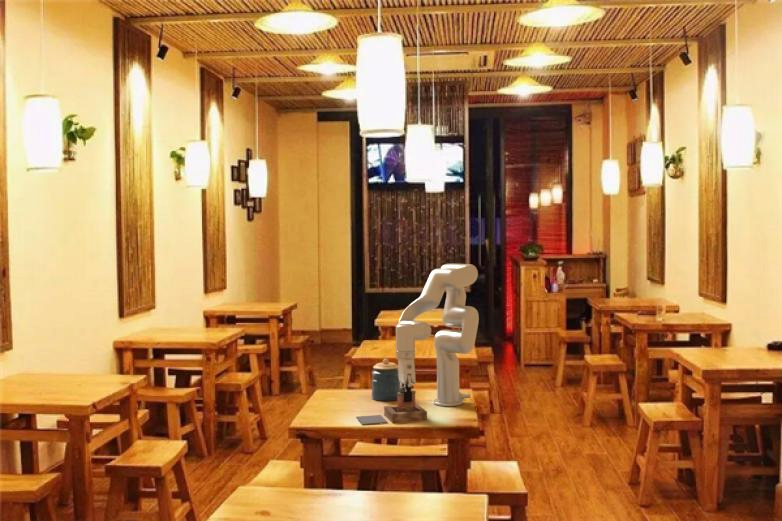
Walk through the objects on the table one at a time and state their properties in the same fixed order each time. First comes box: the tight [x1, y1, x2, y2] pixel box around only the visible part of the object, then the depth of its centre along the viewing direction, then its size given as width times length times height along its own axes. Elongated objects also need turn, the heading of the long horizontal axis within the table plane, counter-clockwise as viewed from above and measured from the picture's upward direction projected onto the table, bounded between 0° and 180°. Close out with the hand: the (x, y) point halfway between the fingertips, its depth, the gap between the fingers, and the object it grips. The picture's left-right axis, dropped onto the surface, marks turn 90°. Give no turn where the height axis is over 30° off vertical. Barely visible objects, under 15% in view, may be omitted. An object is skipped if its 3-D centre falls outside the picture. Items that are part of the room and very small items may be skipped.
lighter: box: [397, 384, 417, 412], centre depth 332 cm, size 8×3×10 cm, turn 117°
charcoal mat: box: [355, 414, 388, 426], centre depth 328 cm, size 10×12×1 cm
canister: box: [371, 358, 401, 402], centre depth 368 cm, size 13×13×18 cm
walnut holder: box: [383, 403, 428, 424], centre depth 332 cm, size 14×14×4 cm
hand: (406, 399), depth 332 cm, fingers closed on lighter, 3 cm apart
